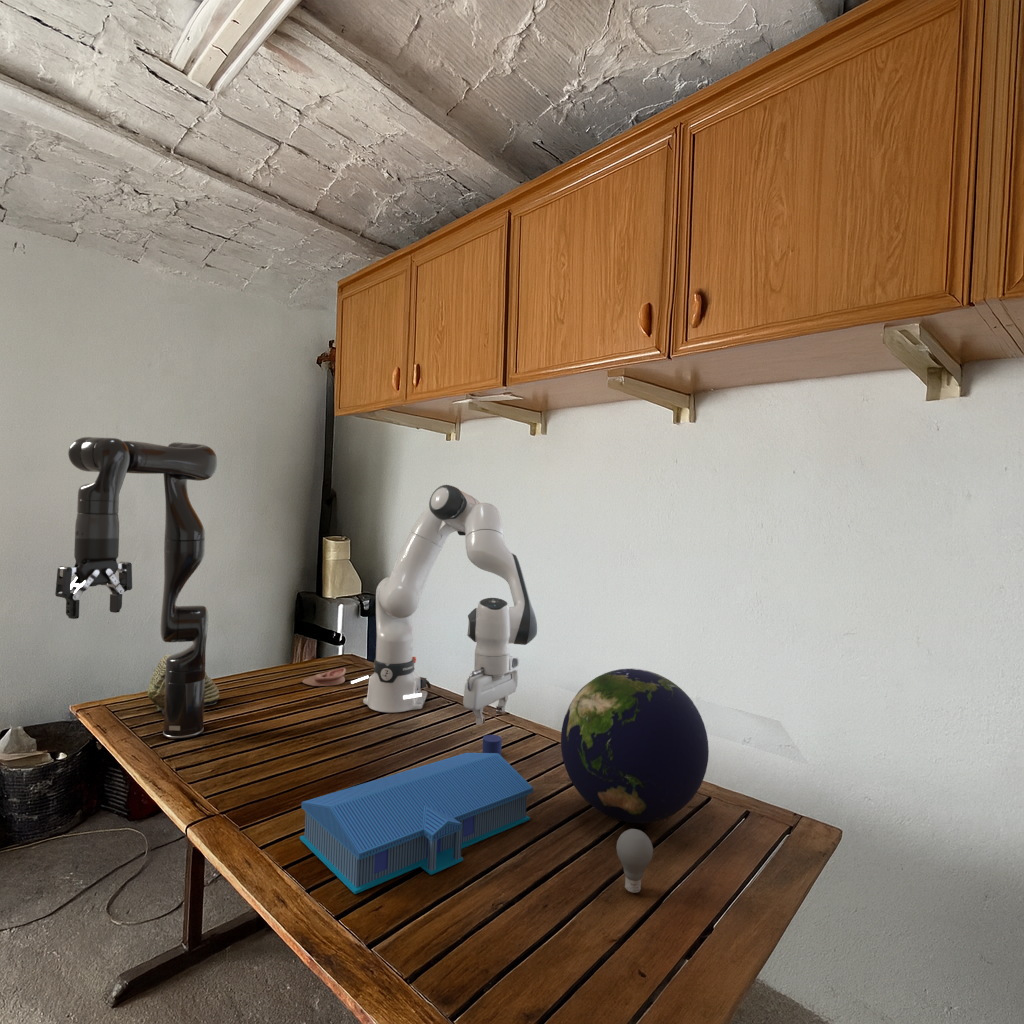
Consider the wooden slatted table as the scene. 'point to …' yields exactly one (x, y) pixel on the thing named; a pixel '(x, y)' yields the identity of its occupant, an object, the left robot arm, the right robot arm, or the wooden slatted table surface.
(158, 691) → the fossil
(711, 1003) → the wooden slatted table surface
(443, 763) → the model building
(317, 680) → the anatomical model
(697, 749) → the globe
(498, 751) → the canister
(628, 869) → the light bulb
